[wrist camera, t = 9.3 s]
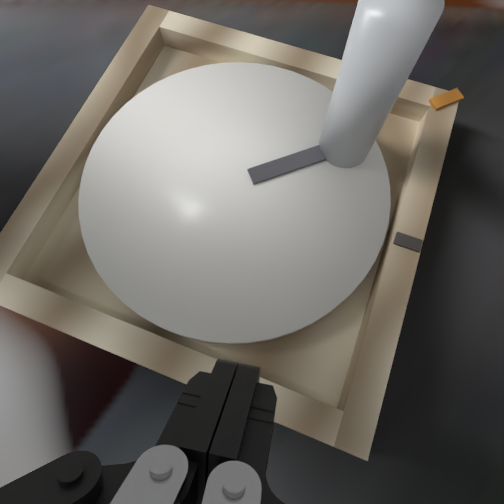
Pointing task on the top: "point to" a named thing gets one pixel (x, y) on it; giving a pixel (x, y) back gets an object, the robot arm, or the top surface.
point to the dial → (251, 186)
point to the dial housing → (258, 354)
